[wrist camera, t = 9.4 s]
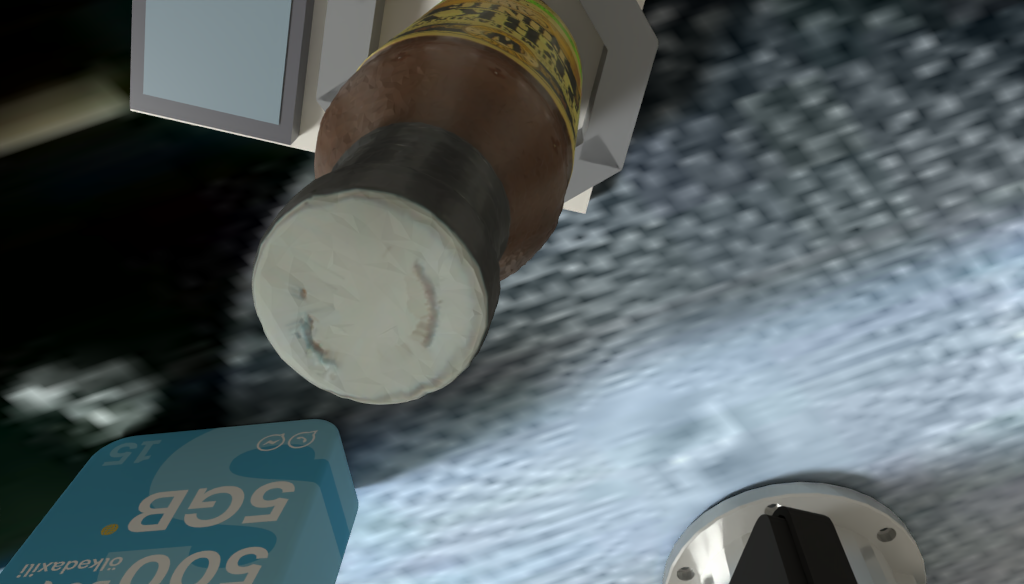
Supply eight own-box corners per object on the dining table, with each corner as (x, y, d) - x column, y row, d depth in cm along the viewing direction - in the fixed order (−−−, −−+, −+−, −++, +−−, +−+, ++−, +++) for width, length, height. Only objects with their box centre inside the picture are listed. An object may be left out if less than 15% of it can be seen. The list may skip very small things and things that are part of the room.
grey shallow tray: (676, -68, 31) (689, -60, 28) (594, 219, 36) (598, 250, 33) (152, -197, 30) (109, -203, 27) (143, 116, 35) (105, 140, 32)
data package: (345, 413, 41) (269, 611, 30) (365, 489, 43) (301, 701, 32) (104, 436, 42) (-52, 634, 31) (135, 509, 44) (-2, 719, 33)
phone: (328, -116, 30) (318, -115, 28) (298, 136, 34) (289, 145, 32) (151, -159, 29) (135, -159, 28) (143, 100, 33) (128, 109, 32)
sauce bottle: (613, 31, 31) (661, 253, 13) (531, 177, 34) (480, 527, 16) (452, -59, 30) (274, 51, 12) (381, 99, 33) (147, 378, 15)
